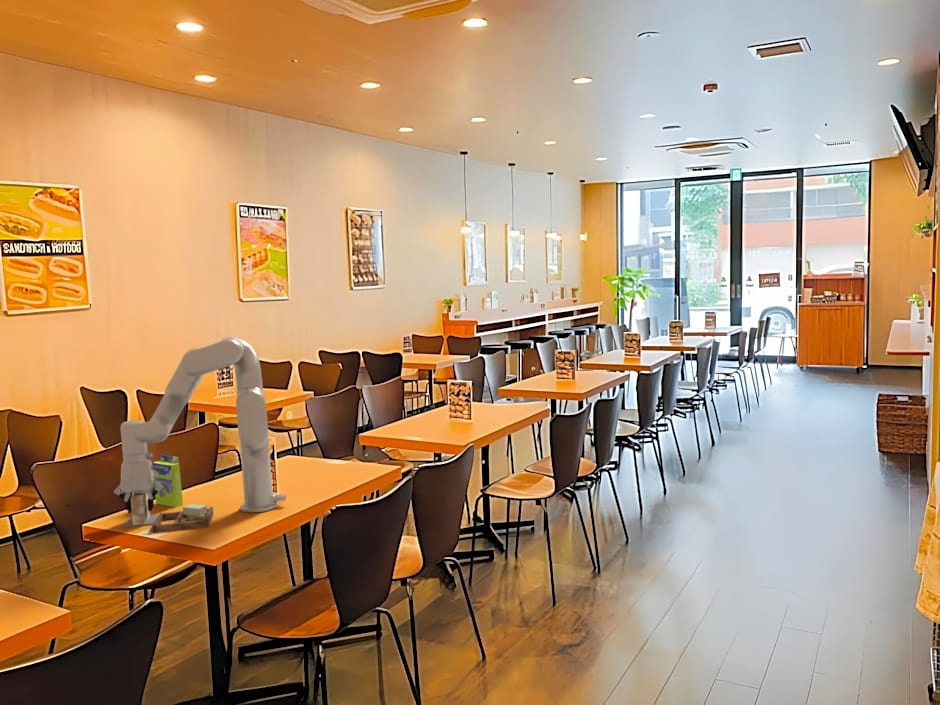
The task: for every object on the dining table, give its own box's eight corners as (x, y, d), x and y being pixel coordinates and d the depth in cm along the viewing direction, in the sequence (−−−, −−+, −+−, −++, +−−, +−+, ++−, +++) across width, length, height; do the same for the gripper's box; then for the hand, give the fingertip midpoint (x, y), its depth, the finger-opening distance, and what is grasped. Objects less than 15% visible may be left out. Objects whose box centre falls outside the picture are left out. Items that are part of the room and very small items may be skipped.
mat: (158, 515, 269) (158, 514, 269) (152, 524, 260) (152, 523, 260) (130, 518, 268) (130, 517, 268) (123, 527, 258) (123, 526, 258)
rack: (213, 513, 269) (212, 506, 268) (208, 526, 255) (208, 518, 255) (160, 519, 265) (160, 511, 265) (152, 532, 252) (152, 524, 251)
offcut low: (201, 517, 266) (200, 509, 266) (206, 524, 258) (205, 515, 258) (187, 520, 264) (186, 511, 264) (191, 527, 256) (191, 518, 256)
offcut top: (190, 511, 264) (190, 504, 263) (207, 513, 261) (206, 505, 261) (183, 514, 260) (182, 507, 260) (200, 516, 258) (199, 508, 257)
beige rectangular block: (150, 515, 269) (147, 489, 268) (144, 524, 259) (141, 497, 258) (139, 516, 268) (136, 490, 267) (132, 525, 258) (130, 498, 257)
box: (155, 504, 284) (151, 456, 282) (165, 501, 287) (160, 454, 286) (174, 507, 278) (170, 459, 277) (184, 504, 282) (180, 456, 280)
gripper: (165, 453, 267) (169, 505, 269) (110, 457, 263) (115, 510, 265) (161, 458, 259) (165, 511, 261) (105, 463, 256) (110, 517, 258)
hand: (140, 510), depth 263 cm, fingers open, 5 cm apart
